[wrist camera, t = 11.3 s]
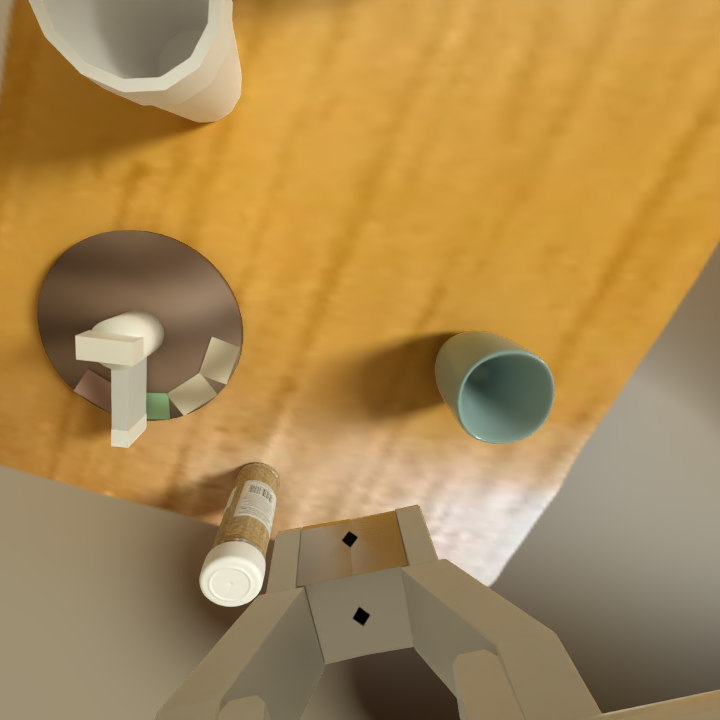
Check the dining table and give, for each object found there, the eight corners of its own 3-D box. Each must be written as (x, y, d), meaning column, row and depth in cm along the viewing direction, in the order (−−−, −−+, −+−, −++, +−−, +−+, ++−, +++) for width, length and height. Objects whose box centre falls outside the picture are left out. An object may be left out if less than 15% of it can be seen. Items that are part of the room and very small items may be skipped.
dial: (18, 242, 35) (7, 243, 34) (222, 219, 36) (218, 218, 35) (80, 426, 40) (72, 432, 39) (258, 402, 41) (256, 408, 40)
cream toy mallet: (115, 306, 36) (74, 320, 30) (164, 313, 36) (133, 328, 30) (116, 424, 39) (79, 458, 33) (161, 429, 39) (132, 463, 33)
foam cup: (151, 146, 34) (49, 96, 21) (124, 9, 31) (-10, -140, 19) (269, 139, 34) (237, 86, 22) (253, 4, 32) (206, -145, 19)
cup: (425, 400, 42) (454, 449, 32) (425, 324, 40) (457, 352, 30) (501, 395, 42) (551, 442, 33) (505, 319, 40) (561, 346, 31)
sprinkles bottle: (226, 478, 43) (183, 583, 30) (260, 452, 42) (231, 547, 29) (257, 507, 44) (228, 619, 31) (290, 482, 44) (275, 586, 31)
